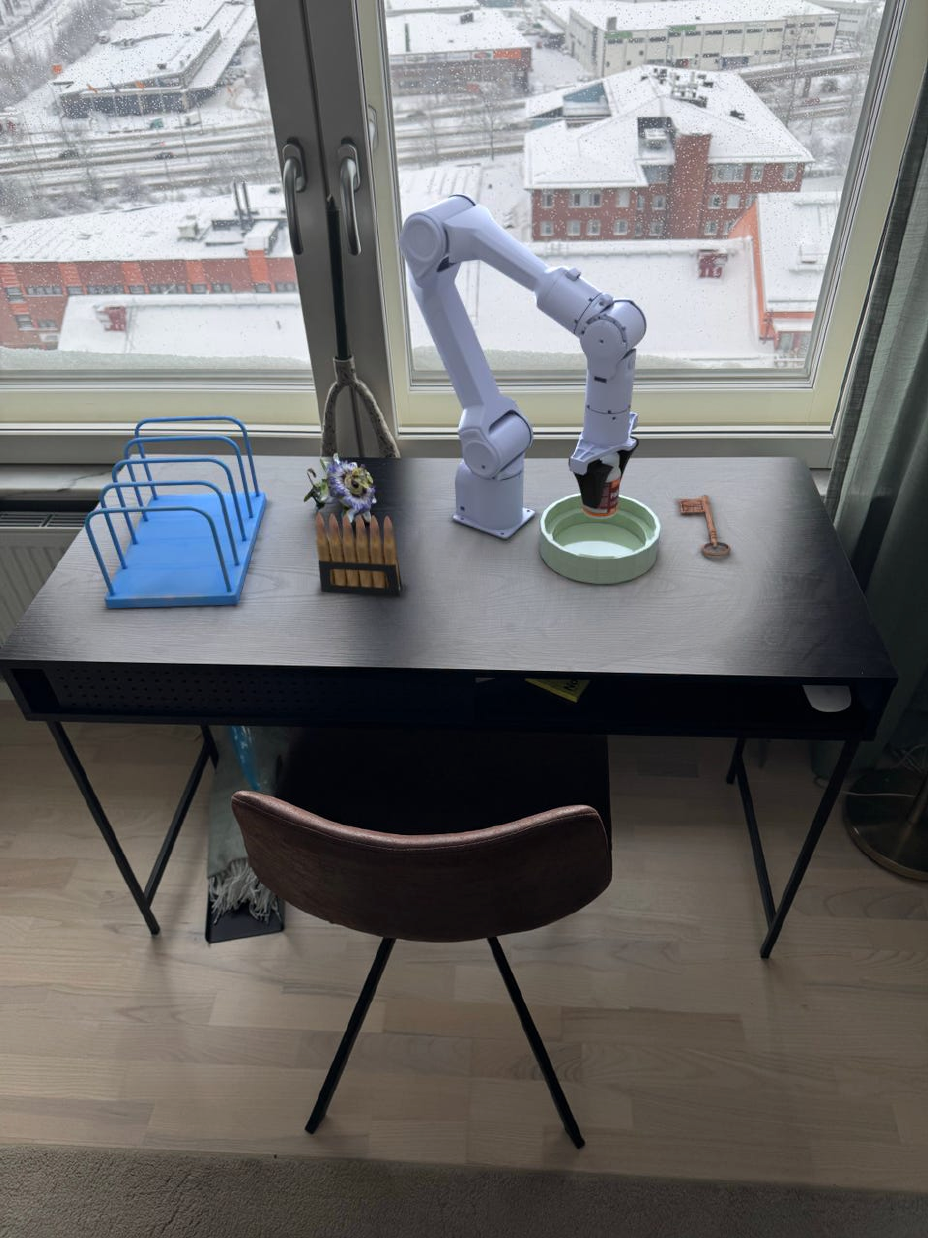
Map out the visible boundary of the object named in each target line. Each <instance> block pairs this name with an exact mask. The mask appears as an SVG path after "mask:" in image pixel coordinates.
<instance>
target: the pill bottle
mask: <svg viewBox="0 0 928 1238" xmlns="http://www.w3.org/2000/svg"><path fill="white" fill-rule="evenodd" d="M600 460H602V463H604V464H607V465H610V466H613V467H614V468H613V469H612V471H611V472H610V474H609V476H608V478H607V480H606V483H605V486H604V490H603V495H602V499H601V503H600V505H599V507H598V508H597V509H594V508H591V507H588V506H585V505H583V502H582V511H583V513H584V514H585V515H587V516H588V517H591V518H594V519H608V518H611V517H613V516H614V515H615V514H616V512H617V506H618V497H619V495H620V485H621V482H620V478H621V471H620V468H619V454H618V453H617V452H614V453H612V454H609V455H607V456H604V457H602V458H600Z"/></svg>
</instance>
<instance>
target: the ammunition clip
mask: <svg viewBox="0 0 928 1238" xmlns="http://www.w3.org/2000/svg"><path fill="white" fill-rule="evenodd" d="M315 516H316V515H315ZM328 522H329V523H328V530H329V537H328V533H327V529H326V524H325V520H324V518H323V517H322V514H321V513H320V512H318V514H317V516H316V517H315V531H316V532H315V533H316V548H317V550H316V551H317V556H318V561H317V562H318V570H319V571H318V572H319V573H318V574H319V581H320V592H322V593H329V594H331V593H333V594H347V595H348V594H349V595H350V594H351V595H365V596H382V597H383V596H384V597H400V596H401V593H402V591H403V583H402V578H401V577H402V575H401V571H400V570H401V569H400V564H399V563H400V562H399V557H398V551H397V543H396V540H395V534H394V528H393V524H392V521H391V518H389V516H388V515H387V516H385V517H384V522H383V541H382V538H381V533H380V527H379V523H378V519H377V518H376V517H375V515H371V521H370V523H369V538H370V539H368V536H367V535H368V534H367V531H366V527H365V522H363V519H362V517H361V516H360V515H358V517H357V521H356V525H355V533H356V535H355V536H356V540H355V536H354V532H353V527H352V523H350V520H349V518H348V516H347V515H346V514H345V515H344V517H343V521H342V538H341V533H340V527H339V524H338V523H339V522H338V521H337V518H336V516H335V514H334V513H331V514H330V515H329V519H328Z"/></svg>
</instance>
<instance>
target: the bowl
mask: <svg viewBox="0 0 928 1238" xmlns="http://www.w3.org/2000/svg"><path fill="white" fill-rule="evenodd" d="M661 530H662V527H661V523H660V520H659V516H657V514H656V513H655V512H654V511H653V510H652V509H651V508H650V507H649V506H647V505H645V504H644V503H643V502H640V500H637V499H635V498H632V497H629V496H625V495H622V494H619V497H618V506H617V512H616V514H615V515H614V516H613V517H611V518H608V519H594V518H591V517H588V516H587V515H585V514H584V513H583V511H582V498H581V493H580V492H579V493H574V494H571V495H566V496H565V497H562V498H559V499H557V500H556V501H553V502H552V503H551V504H550V505H549V506H548V507H547V508H545V510H543V513H542V515H541V517H540V520H539V539H538V540H539V542H538V545H539V552H540V557H541V558H542V559H543V561H544V562H545V564H547V566H548V567H549V568H551V569H552V570H554V571H555V572H556V573H558V575H561V576H562V577H563V576H564V577H566V578H568V579H571V580H574V581H576V582H582V583H589V584H595V585H598V584H599V585H602V584H605V585H606V584H619V583H622V582H627V581H631V580H634V579H637V578H638V577H640V576H643V574H645V573H648V571H649V570H650V569H651V568H652V567H653V566H654V564H655V563H656V560H657V557H658V554H659V553H658V552H659V546H660V538H661Z"/></svg>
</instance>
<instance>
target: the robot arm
mask: <svg viewBox="0 0 928 1238" xmlns="http://www.w3.org/2000/svg"><path fill="white" fill-rule="evenodd" d="M397 244H398V247H399V249H400V251H401V253H402V256H403V258H404V260H405V263H406V269H407V278H408V280H407V281H408V285H409V287H410V290H411V292H412V294H413V297H414V300H415V302H416V304H417V307H418V309H419V311H420V314H421V316H422V319H423V320H424V322H425V325H426V327H427V329H428V332H429V334H430V337H431V339H432V341H433V343H434V346H435V348H436V351H437V353H438V355H439V358H440V359H441V362H442V365H443V367H444V369H445V371H446V373H447V376H448V378H449V381H450V383H451V385H452V388H453V390H454V392H455V395H456V397H457V399H458V401H459V403H460V406H461V409H462V414H461V418H460V421H459V423H458V428H457V435H458V438H459V440H460V443H461V455H462V461H461V462H460V464H459V465H458V467H457V470H456V472H455V479H454V490H455V513H456V514H454V516H453V517H452V519H453V521H454V522H457V523H461V524H463V525H466V526H468V527H471V528H474V529H476V530H479V531H482V532H485V533H488V534H490V535H493V536H495V537H498V538H501V539H504V540H507V539H509V538H510V537H511V536H512V535H514V534H515V533H516V532H517V531H518V530H520V528H521V527H522V526H524V525H525V524H526V523H527V522H528V521H529V520H531V518H533V517H534V516H535V515H536V514H535V512H536V511H534V510H532V509H530V508H527V507H524V479H525V478H524V477H525V476H524V473H525V472H524V471H525V470H524V469H525V466H524V465H525V461H524V460H525V458H526V457H525V456H526V452H525V451H527V450H528V449H529V448H530V447H531V446H532V444H533V442H534V430H533V427H532V424H531V422H530V421H529V420H528V418H527V417H526V416H525V415H524V414H523V413H522V411H521V410H520V409H519V405H518V404H517V402H516V400H515V399H514V398H511V397H509V396H507V395H504V394H502V393H501V391H500V389H499V387H498V384H497V382H496V380H495V377H494V375H493V373H492V369H491V367H490V365H489V362H488V361H487V358H486V355H485V353H484V350H483V348H482V346H481V343H480V341H479V338H478V336H477V333H476V331H475V329H474V326H473V324H472V321H471V319H470V317H469V314H468V312H467V310H466V307H465V305H464V302H463V299H462V297H461V295H460V293H459V289H458V288H457V285H456V282H455V281H456V278H457V275H458V273H459V271H460V268H461V267H462V263H465V262H471V261H472V262H473V261H481V262H483V263H485V264H486V265H488V266H489V267H491V268H493V269H495V271H498V272H499V273H501V274H502V275H504V276H506V277H507V278H509V279H511V280H512V281H513V282H515V283H517V284H518V285H520V286H522V287H523V288H525V289H526V290H529V292H531V293H532V294H533V296H534V301H535V306H536V308H537V309H538V310H539V311H540V312H541V313H543V314H545V315H546V316H547V317H549V318H550V319H552V320H553V321H554V322H556V323H557V324H558V325H560V326H561V327H563V329H565V330H566V331H568V332H570V333H571V334H572V335H574V336H575V337H576V338H578V339H579V345H580V347H581V350H582V352H583V354H584V356H585V357H586V377H585V378H586V379H585V393H584V395H585V396H584V408H583V424H582V425H583V426H582V431H581V433H580V435H579V438H578V442H577V444H576V448H575V451H574V453H573V454H571V455H570V456H569V457H568V461H567V462H568V464H567V465H568V467H569V469H568V471H569V472H572V473H573V475H574V477H575V479H576V482H577V485H578V489H579V493H581V498H582V502H583V505H585V506H588V507H591V508H594V509H597V508H598V507H599V505H600V503H601V499H602V495H603V490H604V486H605V483H606V480H607V478H608V476H609V474H610V472H611V471H612V469H613V468H614V467H613V466H610V465H607V464H604V463H602V460H600V458H602V457H604V456H607V455H609V454H612V453H614V452H617V453H618V454H619V468H620V471H621V478H620V483H622V479H623V476H624V473H625V470H626V467H627V465H628V463H629V460H630V459H631V457H632V455H633V453H634V452H635V451H636V449H637V448H638V446H639V445H640V444H639V443H640V440H639V438H638V437H635V436H632V432H633V431H634V430H635V429H636V428H638V423H639V421H638V420H639V413H636V412H633V411H631V410H632V402H633V392H634V391H633V390H634V381H635V373H636V359H637V348H635V347H636V346H637V345H639V344H640V342H641V341H642V340H643V339H644V338H645V335H646V332H647V328H648V327H647V326H648V325H647V319H646V316H645V313H644V312H643V310H642V309H641V307H640V306H639V305H637V304H636V303H635V301H634V300H632V299H631V298H627V297H619V298H614V297H613V295H611V294H610V293H609V292H605V293H604V292H603V291H601V289H599V288H597V287H596V286H595V285H593V284H592V283H590V282H589V281H587V280H586V279H585V278H583V277H582V276H581V275H582V271H580V270H579V269H578V268H576V266H572V267H570V268H569V267H568V266H566V265H560V266H556V267H550V266H549V265H548V264H546V263H545V262H544V260H542V259H540V258H539V257H538V256H537V255H535V254H534V253H533V251H531V250H529V249H528V248H527V246H525V245H523V243H521V242H520V241H518V240H517V239H516V238H515V237H514V236H513V235H511V234H510V233H509V232H508V231H506V230H505V229H504V228H503V227H502V226H500V225H499V224H498V223H497V222H496V220H494V219H493V216H492V214H491V212H490V210H489V208H487V207H486V206H484V205H483V204H480V203H478V202H477V201H476V200H475V199H474V198H473V197H472V196H470V195H468V194H466V193H454V194H451V195H449V196H448V197H447V198H445V199H444V200H441V201H440V202H437V203H435V204H433V205H431V206H428V207H427V208H424V209H422V210H418V211H415V212H413V213H411V214H409V215H408V216H407V218H405V220H404V222H403V225H402V228H401V231H400V234H399V237H398V239H397Z"/></svg>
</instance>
